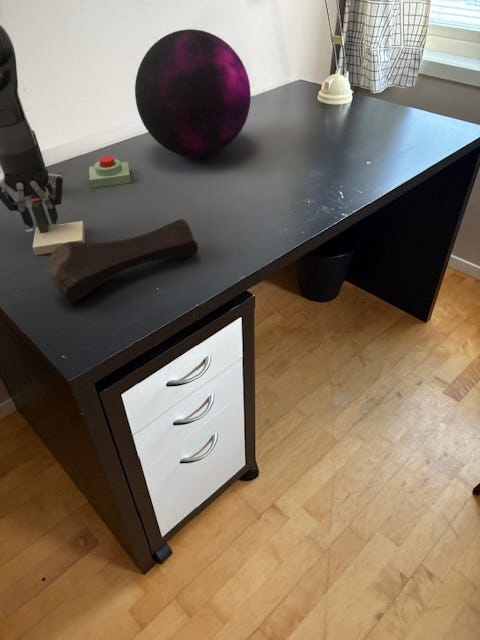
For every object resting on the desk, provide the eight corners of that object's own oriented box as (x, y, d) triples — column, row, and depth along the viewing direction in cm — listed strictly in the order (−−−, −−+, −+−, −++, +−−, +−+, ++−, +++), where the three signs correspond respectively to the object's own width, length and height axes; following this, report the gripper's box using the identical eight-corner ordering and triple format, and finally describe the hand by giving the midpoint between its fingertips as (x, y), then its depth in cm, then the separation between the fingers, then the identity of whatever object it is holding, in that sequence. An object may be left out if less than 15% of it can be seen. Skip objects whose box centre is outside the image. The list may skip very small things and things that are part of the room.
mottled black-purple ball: (270, 160, 129) (271, 33, 109) (165, 185, 120) (145, 52, 100) (225, 125, 149) (219, 13, 129) (133, 145, 140) (110, 27, 120)
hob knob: (48, 232, 101) (38, 205, 97) (40, 233, 101) (30, 206, 97) (49, 223, 104) (40, 197, 100) (41, 224, 103) (32, 198, 99)
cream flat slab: (26, 256, 98) (22, 248, 97) (30, 230, 106) (27, 221, 104) (84, 247, 100) (82, 239, 98) (85, 222, 108) (82, 213, 106)
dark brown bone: (59, 314, 87) (195, 276, 100) (59, 287, 78) (207, 249, 91) (40, 265, 90) (174, 234, 103) (37, 233, 81) (184, 204, 94)
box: (91, 188, 120) (87, 173, 118) (91, 174, 126) (87, 160, 123) (131, 182, 122) (128, 167, 119) (129, 169, 128) (126, 155, 125)
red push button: (100, 169, 120) (99, 162, 119) (100, 163, 123) (99, 157, 121) (115, 167, 120) (113, 160, 119) (114, 161, 123) (113, 155, 122)
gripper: (-29, 157, 86) (6, 238, 98) (52, 147, 88) (76, 227, 100) (-22, 141, 92) (10, 220, 103) (54, 133, 94) (77, 210, 105)
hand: (43, 223), depth 101 cm, fingers open, 4 cm apart
